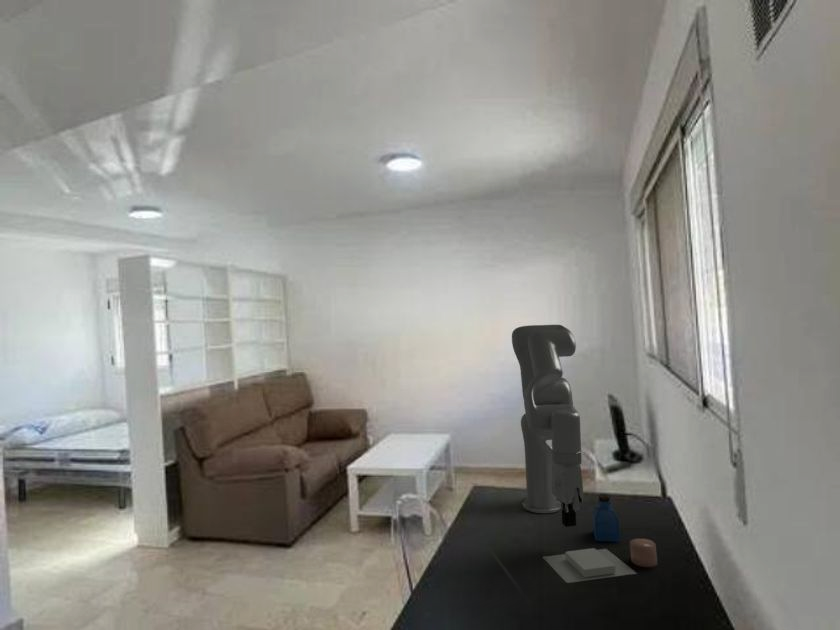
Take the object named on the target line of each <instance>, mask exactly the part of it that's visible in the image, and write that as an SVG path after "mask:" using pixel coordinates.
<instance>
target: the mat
mask: <svg viewBox="0 0 840 630" xmlns="http://www.w3.org/2000/svg"><path fill="white" fill-rule="evenodd" d="M596 550H597V551H598V552H599V553H601V554H602V555H603V556H604V557H605V558H607V559H608V560H609V561H610V562H611V563H613V564H614V565H615V571H616V573H614V574H607V575H600V576H593V577H584V576H583V575H582V574H581V573H580V572H579V571H577V570H576V569H575V568H574V567H573V566H572V565H571V564H570V563H569V562H568V561H567V560H566V558H565V553H562V554H556V555H555V554H554V555H548V556H547V555H546V556H542V559H544V561H545V562H546V563H547V564H548V565H549V566H550V567H551V568H552V569H553V570H554V571H555V572H556V573H557V574H558V575H559V577H561V579H562V580H563V581H564V582H565V583H566V584H570V583H571V584H572V583H579V582H585V581H592V580H593V581H594V580H600V579H607V578H614V577H621V576H630V575H636V574H638V572H636V571H635V570H634V569H632V568H631V567H630V566H629V565H628V564H626V563H625V562H624V561H622V560H621V559H619V558H618V557H617V556H616V555H614V554H613V553H612V552H611V551H609V550H608V548H600V549H596Z"/></svg>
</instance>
